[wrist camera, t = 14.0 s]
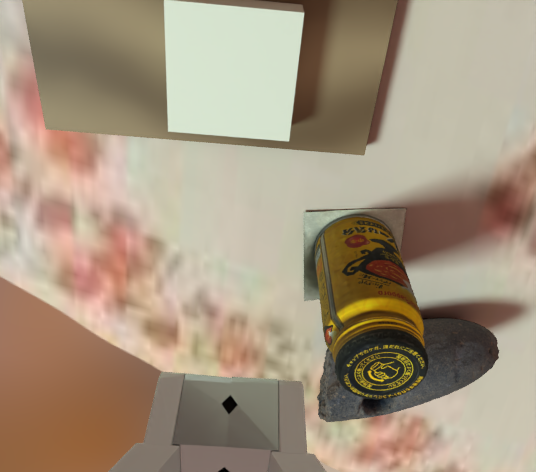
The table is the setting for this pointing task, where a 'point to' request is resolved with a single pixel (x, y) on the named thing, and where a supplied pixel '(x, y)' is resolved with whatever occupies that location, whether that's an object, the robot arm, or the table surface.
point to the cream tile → (232, 67)
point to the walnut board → (154, 70)
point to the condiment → (365, 300)
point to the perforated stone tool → (436, 380)
